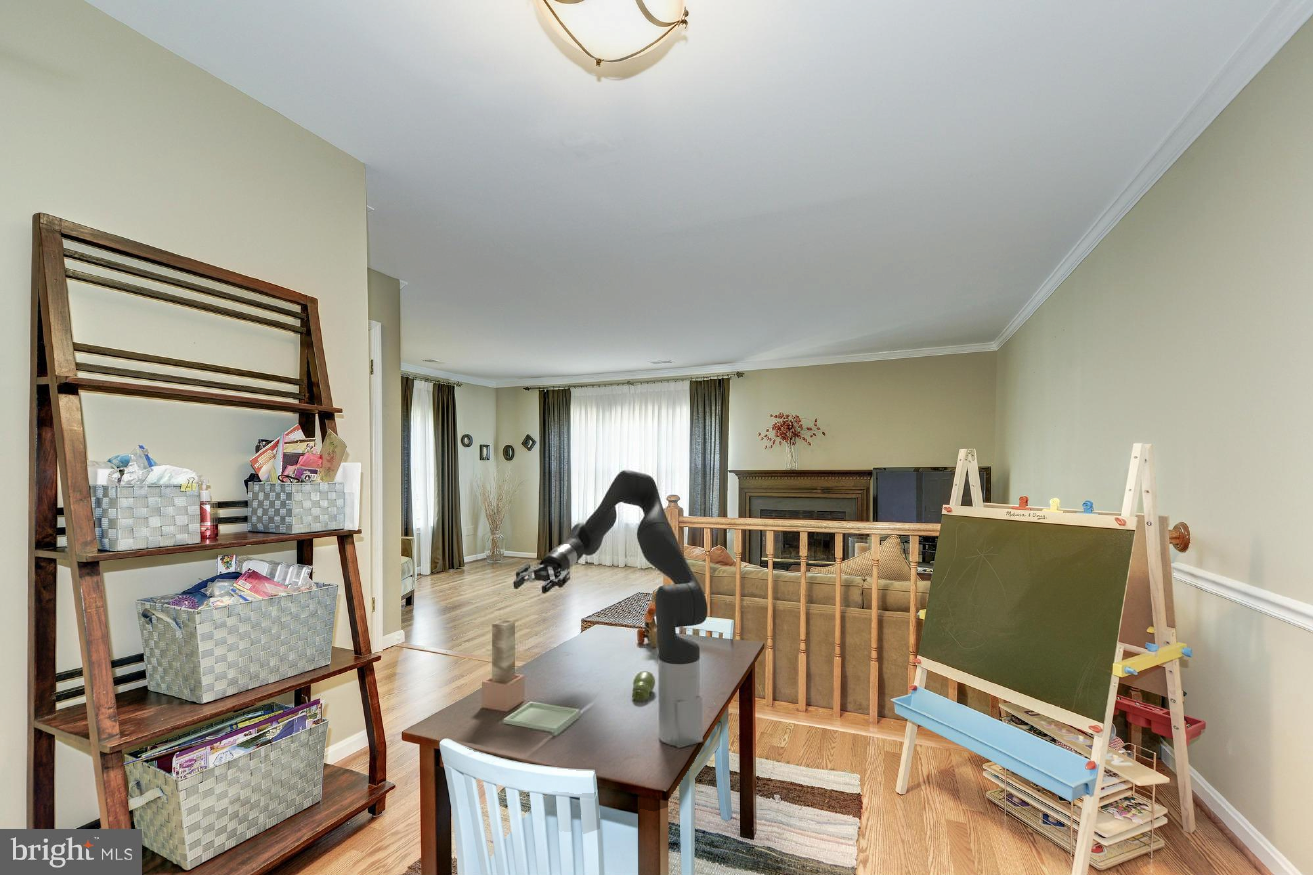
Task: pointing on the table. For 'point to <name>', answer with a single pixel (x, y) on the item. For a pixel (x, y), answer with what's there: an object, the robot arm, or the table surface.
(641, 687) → the pear
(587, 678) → the table surface
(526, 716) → the tray
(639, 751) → the table surface
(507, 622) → the post
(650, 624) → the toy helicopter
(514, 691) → the salmon pink open box
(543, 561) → the robot arm
